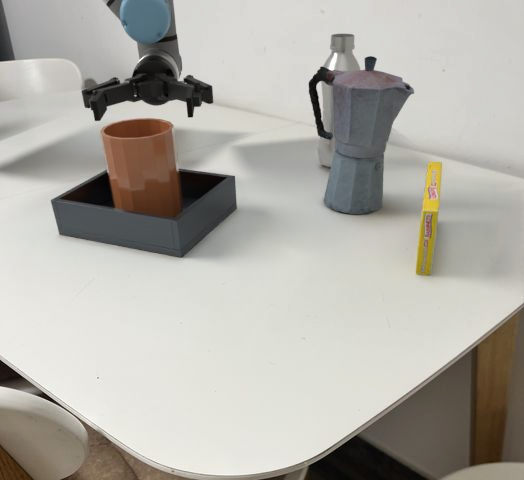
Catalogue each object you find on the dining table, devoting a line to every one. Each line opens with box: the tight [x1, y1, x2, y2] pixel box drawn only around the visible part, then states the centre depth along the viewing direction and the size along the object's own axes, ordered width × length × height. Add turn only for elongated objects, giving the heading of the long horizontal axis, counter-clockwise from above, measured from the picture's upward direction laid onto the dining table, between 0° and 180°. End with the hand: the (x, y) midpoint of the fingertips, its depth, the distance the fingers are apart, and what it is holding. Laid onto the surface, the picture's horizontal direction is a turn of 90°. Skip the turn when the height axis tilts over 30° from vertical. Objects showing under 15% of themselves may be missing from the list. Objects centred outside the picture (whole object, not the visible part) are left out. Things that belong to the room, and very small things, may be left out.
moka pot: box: [308, 55, 415, 215], centre depth 79 cm, size 10×15×20 cm, turn 60°
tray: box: [50, 168, 238, 258], centre depth 81 cm, size 20×17×5 cm
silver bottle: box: [317, 33, 361, 168], centre depth 93 cm, size 6×7×20 cm
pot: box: [99, 117, 183, 218], centre depth 78 cm, size 9×9×12 cm
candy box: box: [415, 161, 443, 276], centre depth 71 cm, size 16×2×8 cm, turn 165°
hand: (142, 109), depth 83 cm, fingers open, 13 cm apart
